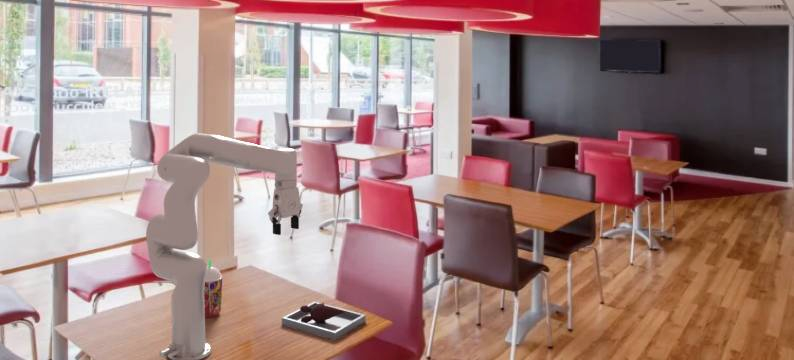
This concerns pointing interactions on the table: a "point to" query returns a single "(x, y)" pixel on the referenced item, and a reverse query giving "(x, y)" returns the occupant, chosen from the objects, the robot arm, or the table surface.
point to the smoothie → (212, 291)
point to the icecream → (320, 313)
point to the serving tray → (330, 328)
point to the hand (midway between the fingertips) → (286, 231)
